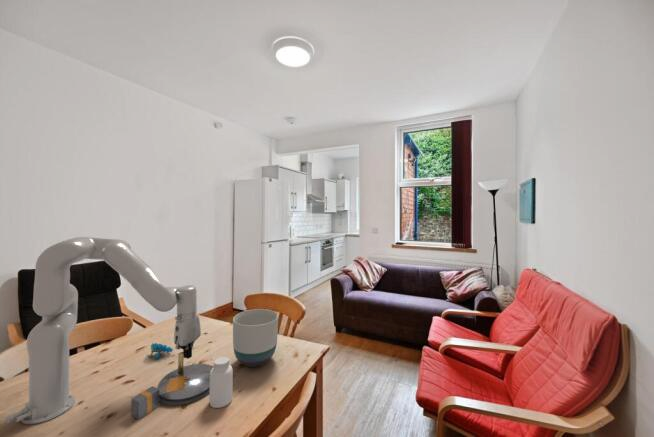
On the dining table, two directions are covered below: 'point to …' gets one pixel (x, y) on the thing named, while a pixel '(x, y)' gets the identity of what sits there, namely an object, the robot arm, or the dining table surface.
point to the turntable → (185, 381)
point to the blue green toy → (159, 349)
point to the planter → (255, 336)
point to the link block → (145, 402)
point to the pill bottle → (221, 383)
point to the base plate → (183, 402)
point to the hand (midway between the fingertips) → (187, 357)
